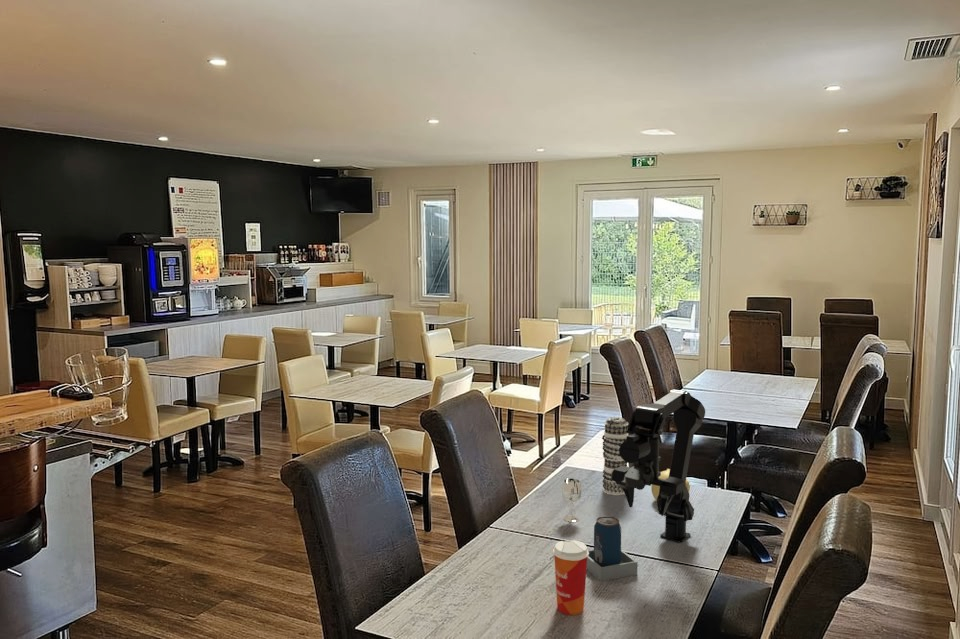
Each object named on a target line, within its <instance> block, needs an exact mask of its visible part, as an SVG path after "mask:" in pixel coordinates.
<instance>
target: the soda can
mask: <svg viewBox="0 0 960 639" xmlns="http://www.w3.org/2000/svg"><path fill="white" fill-rule="evenodd" d="M593 549H594V561H595V562H596V563H597V564H598V565H600V566H601V567H605V566H611V565H616V564H620V563H621V550H622V526H621V524H620V520H619V519H618V518H616V517H614V516H606V515H605V516H604V515H603V516H599V517H597V518H596V522H595V524H594V526H593Z"/></svg>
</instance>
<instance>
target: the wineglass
mask: <svg viewBox="0 0 960 639" xmlns="http://www.w3.org/2000/svg"><path fill="white" fill-rule="evenodd" d="M580 482H581V481H580V480H579V479H577V478H565V479H564V480H563V484H562V487H561V488H562V490H561V494H562V497H563V499H564V500H565V501H567V502H570V503H569V507H570V515H567V516H565V517H563V520H564V521H565V522H568V521H569V523H576V522H579V520H580V519H579V517H577V516H574V515H573V508H574V502H577V501H578V500H580V499H581V497H582V486H581V483H580Z"/></svg>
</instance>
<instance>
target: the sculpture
mask: <svg viewBox="0 0 960 639" xmlns="http://www.w3.org/2000/svg"><path fill="white" fill-rule="evenodd" d="M660 472H661V476H659V477H658V478H659V479H664V480H665V479H667V478H669V472H670V468H666V470H663V471H660ZM650 487H651V495H652V497H653V498H654V500H655V501H656V502H657V497H658V495H659V490H660V486H657V485H652V484H651V486H650ZM686 487H687V489H688V492H689V493H690V488H691V485H690V481H689V480H688V479H687V478H686Z"/></svg>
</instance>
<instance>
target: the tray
mask: <svg viewBox="0 0 960 639" xmlns="http://www.w3.org/2000/svg"><path fill="white" fill-rule="evenodd" d="M587 550H588V552H589V555H588V556H587V568H586V571H587V570H588V572H589V573H591V574H592V576H594V577H595V578H596V579H597V580H598V581H600V582H603V581H609V580H614V579H620V578H625V577H630V576H635V575H638V562H639V561H637V560H636V559H634V558H633V557H632V556H631V555H629V554H628V553H627V552H625V551H624V550H623V549H621V563H620V564H616V565H611V566H605V567H601V566H600V565H598V564H597V563H596V562H595V561H594V548H593V549H592V548H591V549H587Z"/></svg>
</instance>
